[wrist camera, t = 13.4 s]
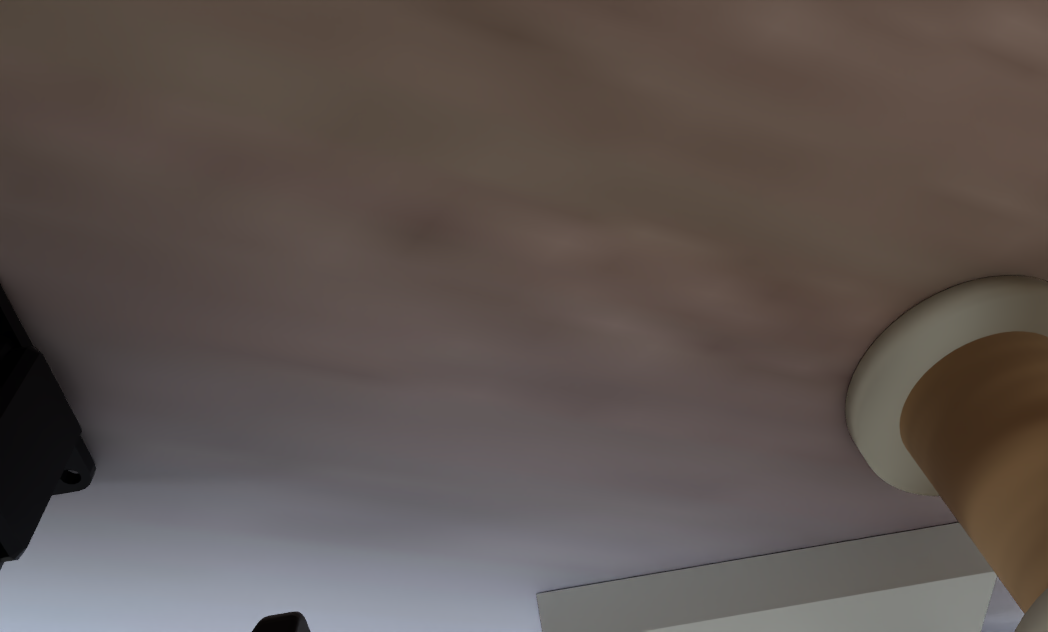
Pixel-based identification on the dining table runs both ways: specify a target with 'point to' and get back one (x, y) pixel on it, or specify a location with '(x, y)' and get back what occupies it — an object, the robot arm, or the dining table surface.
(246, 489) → the dining table surface
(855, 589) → the notched board
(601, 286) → the dining table surface
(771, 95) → the dining table surface
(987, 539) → the bobbin
